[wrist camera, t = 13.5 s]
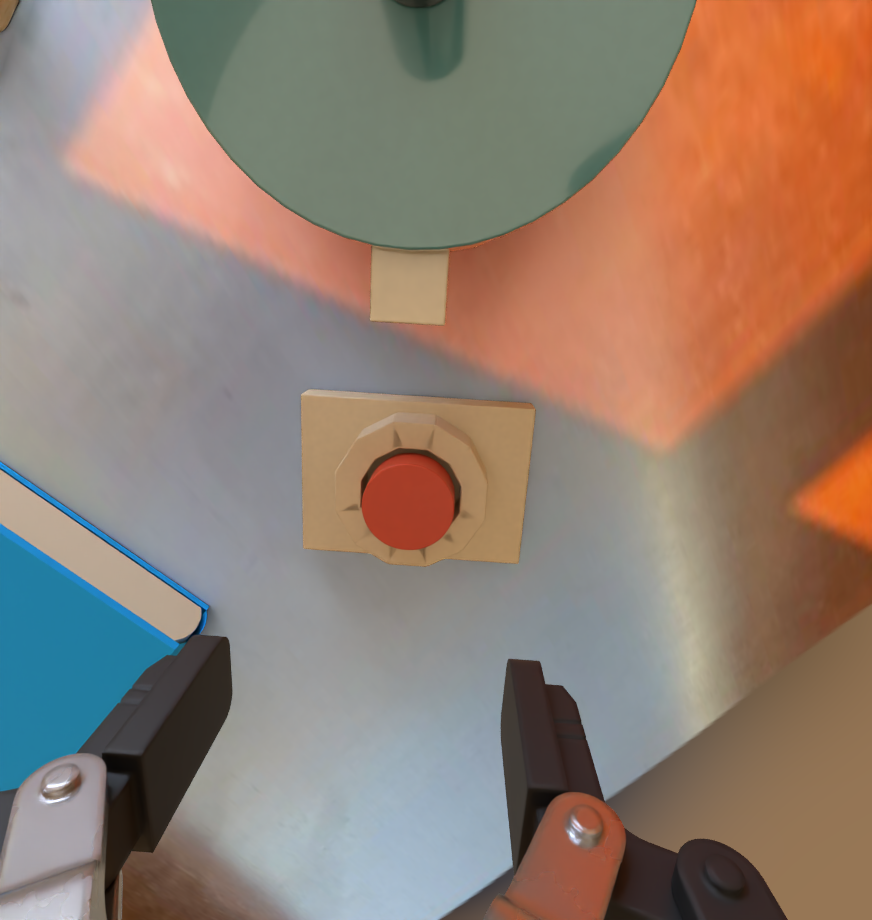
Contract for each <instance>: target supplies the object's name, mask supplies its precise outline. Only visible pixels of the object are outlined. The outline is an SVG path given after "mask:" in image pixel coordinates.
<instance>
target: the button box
mask: <svg viewBox="0 0 872 920" xmlns="http://www.w3.org/2000/svg"><path fill="white" fill-rule="evenodd" d="M535 413H536V410H535V408H534V406H533V405H532V404H531V403H519V402H504V401H488V400H472V399H457V398H441V397H426V396H410V395H394V394H379V393H363V392H348V391H332V390H316V389H309V390H307V391H306V392H304V393H303V394H301V431H302V498H303V548H304V549H315V550H329V551H343V552H357V553H370V554H372V555H374V556H375V557H377V558H379V559H380V560H382V561H384V562H385V563H387V564H395V565H409V566H424V567H426V566H429V565H431V564H434V563H436V562H438V561H441V560H443V559H457V560H471V561H485V562H499V563H514V564H518V563H519V555H520V546H521V537H522V528H523V520H524V511H525V502H526V493H527V484H528V475H529V466H530V457H531V449H532V440H533V431H534V422H535ZM401 453H418V454H422V455H426V456H428V457H430V458H432V459H434V460H436V461H437V462H438V463H440V464H441V465H442V466H443V467H444V468H445V470H446V471H447V472H448V474H449V475H450V477H451V479H452V482H453V485H454V491H455V506H454V517H453V520H452V523H451V525H450V527H449V529H448V531H447V532H446V533H445V535H444V536H443V537H442V538H441V539H440V540H438V541H437V542H435V543H434V544H432V545H430V546H428V547H425V548H422V549H418V550H401V549H397V548H393V547H391V546H388V545H386V544H384V543H383V542H381V541H380V540H379V539H377V538H376V537H375V536H374V535H373V534H372V532H371V531H370V530H369V528H368V527H367V525H366V523H365V521H364V518H363V514H362V497H363V493H364V491H365V488H366V486H367V484H368V482H369V480H370V478H371V476H372V474H373V472H374V471H375V469H376V468H377V467H378V466H379V465H380V464H381V463H382V462H383V461H385V460H386V459H388V458H390V457H392V456H394V455H397V454H401Z"/></svg>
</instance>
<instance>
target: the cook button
mask: <svg viewBox="0 0 872 920" xmlns="http://www.w3.org/2000/svg"><path fill="white" fill-rule="evenodd" d="M454 506H455V491H454V485H453V482H452V479H451V477H450V475H449V474H448V472H447V471H446V470H445V468H444V467H443V466H442V465H441V464H440V463H438V462H437V461H436V460H434V459H432V458H430V457H428V456H426V455H422V454H418V453H401V454H397V455H394V456H392V457H390V458H388V459H386V460H385V461H383V462H382V463H381V464H380V465H379V466H378V467H377V468H376V469H375V471H374V472H373V474H372V476H371V478H370V480H369V482H368V484H367V486H366V488H365V491H364V493H363V497H362V514H363V518H364V521H365V523H366V525H367V527H368V528H369V530H370V531H371V532H372V534H373V535H374V536H375V537H376V538H377V539H379V540H380V541H381V542H383V543H384V544H386V545H388V546H391V547H393V548H397V549H401V550H418V549H422V548H425V547H428V546H430V545H432V544H434V543H435V542H437V541H438V540H440V539H441V538H442V537H443V536H444V535H445V533H446V532H447V531H448V529H449V527H450V525H451V523H452V520H453V517H454Z"/></svg>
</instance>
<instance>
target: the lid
mask: <svg viewBox="0 0 872 920" xmlns="http://www.w3.org/2000/svg"><path fill="white" fill-rule="evenodd" d="M696 1H697V0H151V2H152V6H153V11H154V15H155V19H156V23H157V25H158V28H159V31H160V34H161V37H162V40H163V42H164V45H165V48H166V51H167V54H168V56H169V59H170V62H171V64H172V66H173V68H174V70H175V72H176V74H177V76H178V79H179V81H180V83H181V85H182V87H183V89H184V91H185V93H186V95H187V97H188V99H189V101H190V102H191V104H192V105H193V107H194V109H195V110H196V112H197V113H198V115H199V117H200V118H201V120H202V122H203V123H204V125H205V126H206V128H207V130H208V131H209V132H210V134H211V135H212V136H213V137H214V139H215V140H216V141H217V142H218V144H219V145H220V146H221V148H222V149H223V150H224V151H225V153H226V154H227V155H228V156H229V158H230V159H231V160H232V161H233V162H234V163H235V164H236V165H237V166H238V167H239V168H240V169H241V170H242V171H243V172H244V173H245V174H246V175H247V176H248V177H249V178H250V179H251V180H252V181H253V182H254V183H255V184H256V185H257V186H258V187H259V188H261V189H262V190H263V191H265V192H266V193H267V194H268V195H270V196H271V197H272V198H274V199H275V200H276V201H277V202H279V203H280V204H281V205H283V206H284V207H285V208H287V209H289V210H290V211H292V212H294V213H295V214H297V215H299V216H300V217H302V218H304V219H305V220H307V221H309V222H311V223H312V224H314V225H316V226H318V227H321V228H323V229H325V230H328V231H330V232H332V233H335V234H337V235H339V236H342V237H344V238H346V239H349V240H353V241H357V242H360V243H364V244H368V245H371V246H375V247H380V248H388V249H395V250H403V251H443V250H449V249H456V248H463V247H469V246H474V245H477V244H480V243H484V242H487V241H490V240H494V239H497V238H501V237H503V236H506V235H508V234H510V233H512V232H514V231H517V230H519V229H521V228H523V227H526V226H528V225H530V224H532V223H534V222H535V221H537V220H539V219H540V218H542V217H544V216H545V215H547V214H548V213H550V212H552V211H553V210H555V209H556V208H558V207H560V206H561V205H563V204H564V203H565V202H566V201H567V200H569V199H570V198H571V197H572V196H574V195H575V194H576V193H577V192H579V191H580V190H581V189H582V188H584V187H585V186H586V185H587V184H588V183H590V182H591V181H592V180H593V179H594V178H595V177H596V176H597V175H598V174H599V173H600V172H601V171H602V170H603V169H604V168H605V167H606V166H607V165H608V164H609V163H610V161H611V160H612V159H613V158H614V157H615V156H616V155H617V154H618V153H619V152H620V151H621V149H622V148H623V147H624V145H625V144H626V143H627V141H628V140H629V139H630V138H631V136H632V135H633V134H634V132H635V131H636V130H637V128H638V127H639V126H640V124H641V123H642V122H643V120H644V118H645V117H646V115H647V113H648V112H649V110H650V108H651V107H652V105H653V103H654V102H655V100H656V98H657V97H658V95H659V93H660V92H661V90H662V88H663V87H664V85H665V82H666V80H667V78H668V76H669V74H670V72H671V69H672V67H673V65H674V63H675V61H676V58H677V56H678V54H679V52H680V50H681V47H682V44H683V41H684V38H685V35H686V32H687V29H688V26H689V23H690V20H691V17H692V14H693V11H694V8H695V5H696Z"/></svg>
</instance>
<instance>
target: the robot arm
mask: <svg viewBox="0 0 872 920" xmlns="http://www.w3.org/2000/svg"><path fill="white" fill-rule="evenodd" d="M231 700H232V676H231V660H230V645H229V640H228V638H227V637H220V636H206V635H193V636H192V637H191V638H190V639H189V640H188V642H187V643H186V644H185V646H184V647H183V648H182V649H181V651H180V652H179V653H178V655H177V656H173V655H166V656H165V657H163V658H162V659H160V660H159V661H157V662H156V663H154V664H153V665H151V666H150V667H148V668H147V669H146V670H145V671H144V672H143V673H142V675H141V676H140V677H139V678H138V679H137V681H136V682H135V683H134V684H133V686H132V689H129V690H128V692H127V693H126V694H125V695H124V696H123V698H122V699H121V702H120V703H118V704H117V705H116V706H115V707H114V708H113V710H112V711H111V712H110V713H109V714H108V716H107V717H106V718H105V719H104V720H103V722H102V723H101V724H100V725H99V726H98V728H97V729H96V730H95V731H94V732H93V734H92V735H91V736H90V737H89V738H88V740H87V741H86V742H85V743H84V744H83V746H82V747H81V748H80V749H79V750H78V752H77V753H76V754H71V755H66V756H63V757H60V758H57V759H55V760H53V761H51V762H49V763H47V764H45V765H43V766H42V767H40V768H39V769H37V770H36V771H34V772H33V773H32V774H31V775H30V776H29V777H28V778H27V779H26V780H24V782H23V783H22V784H21V785H20V787H19V788H16V789H11V790H6V791H0V920H121V916H122V881H123V879H122V870H121V868H122V866H123V865H124V863H125V861H126V860H127V858H128V856H129V855H130V853H131V851H139V852H151V853H153V852H154V850H155V848H156V846H157V844H158V842H159V841H160V839H161V837H162V835H163V833H164V831H165V830H166V828H167V826H168V824H169V822H170V820H171V819H172V817H173V815H174V813H175V811H176V809H177V808H178V806H179V804H180V802H181V800H182V798H183V797H184V795H185V793H186V791H187V789H188V788H189V786H190V784H191V782H192V780H193V778H194V777H195V775H196V773H197V771H198V769H199V767H200V766H201V764H202V762H203V760H204V758H205V756H206V755H207V753H208V751H209V749H210V747H211V745H212V744H213V742H214V740H215V738H216V736H217V734H218V733H219V731H220V729H221V727H222V725H223V723H224V722H225V720H226V718H227V715H228V712H229V709H230V705H231ZM501 745H502V756H503V766H504V777H505V787H506V798H507V808H508V818H509V829H510V839H511V850H512V860H513V870H514V878H513V880H512V883H511V884H510V886H509V889H508V890H507V892H506V894H505V895H502V894H501V893H500V894H498V895H497V896H496V897H495V899H494V900H493V902H492V903H491V905H490V907H489V909H488V911H487V913H486V915H485V917H484V919H483V920H788V919H787V918H786V916H785V915H784V913H783V911H782V909H781V908H780V906H779V905H778V903H777V901H776V899H775V897H774V896H773V894H772V893H771V891H770V889H769V887H768V886H767V884H766V882H765V881H764V879H763V878H762V876H761V875H760V873H759V872H758V871H757V869H756V868H755V867H754V866H753V865H752V864H751V863H750V862H749V861H748V860H747V859H746V858H745V857H744V856H742V855H741V854H740V853H738V852H737V851H735V850H734V849H732V848H731V847H728V846H727V845H725V844H722V843H720V842H717V841H713V840H709V839H694V840H691V841H688V842H687V843H685V844H684V845H683V846H682V847H681V848H680V850H679V852H678V853H675V852H673V851H670V850H667V849H665V848H662V847H660V846H657V845H654V844H652V843H649V842H647V841H645V840H642V839H640V838H638V837H637V836H635V835H633V834H632V833H630V832H629V831H628V830H626V829H625V828H624V826H623V824H622V822H621V820H620V819H619V817H618V816H617V814H616V813H615V812H614V811H613V810H612V809H611V808H610V807H609V806H608V805H607V804H606V803H605V801H604V798H603V794H602V791H601V788H600V784H599V781H598V777H597V774H596V770H595V767H594V763H593V760H592V756H591V753H590V749H589V746H588V742H587V740H586V735H585V732H584V728H583V725H581V718H580V715H579V711H578V708H577V704H576V702H575V701H574V699H573V698H572V697H571V696H570V694H569V693H568V692H567V691H566V690H565V688H564V687H563V686H560V685H547V684H545V681H544V676H543V672H542V667H541V663H540V661H531V660H518V659H508V662H507V668H506V676H505V685H504V694H503V703H502V712H501Z"/></svg>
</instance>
